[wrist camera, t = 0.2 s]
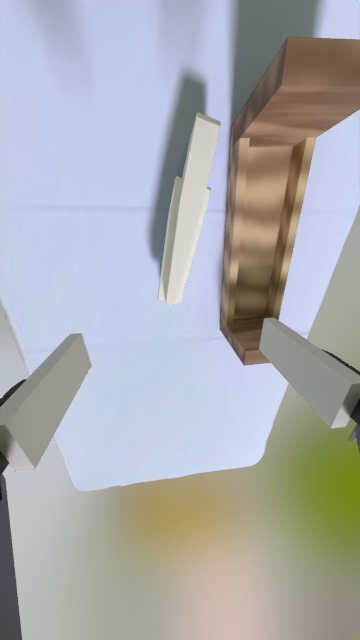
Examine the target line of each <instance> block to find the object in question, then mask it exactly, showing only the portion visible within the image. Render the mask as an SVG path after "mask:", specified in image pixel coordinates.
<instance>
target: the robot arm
mask: <svg viewBox="0 0 360 640" xmlns="http://www.w3.org/2000/svg"><path fill="white" fill-rule="evenodd" d="M259 350H260V351H261V352H262V353H263V355H264V356H265V357H266V358H267V359H268V360H269V361H270V362H271V363H272V364H273V366H274V367H275V368H276V369H277V370H278V371H279V372H280V373H281V374H282V375H283V377H284V378H285V379H286V380H287V381H288V382H289V383H290V384H291V385H292V387H293V388H294V389H295V390H296V391H297V392H298V393H299V394H300V395H301V396H302V398H303V399H304V400H305V401H306V402H307V403H308V404H309V405H310V406H311V407H312V408H313V410H314V411H315V412H316V413H317V414H318V415H319V416H320V417H321V418H322V420H323V421H324V422H325V423H326V424H327V425H328V426H329V427H330V428H338V427H345V426H346V425H347V423H348V421H349V419H350V417H351V418H352V419H353V420H354V421H355V422H356V423H357V425H356V426H355V428H354V430H353V432H352V433H351V435H350V438H349V441H351V442H352V441H353V440H354V438H355V437H357V444H358V447H359V452H360V372H359V371H358V370H356V369H355V368H353V367H352V366H349V364H347V363H346V362H344V361H342V360H341V359H340V358H338V357H337V356H335V355H334V354H332V353H329V352H327V351H325V350H322V349H320V348H318V347H317V346H315V345H314V344H312V343H311V342H309V341H308V340H306V339H305V338H304V337H302V336H301V335H299V334H298V333H296V332H295V331H293V330H292V329H290V328H289V327H287V326H286V325H284V324H283V323H281V322H280V321H278V320H277V319H275V318H264V322H263V328H262V334H261V340H260V345H259ZM90 367H91V362H90V359H89V356H88V353H87V349H86V346H85V343H84V340H83V337H82V333H79V334H70V335H69V336H68V337H67V338H66V339H65V340H64V341H63V342H62V343H61V344H60V345H59V346H58V347H57V348H56V349H55V350H54V351H53V353H52V354H51V355H50V356H49V357H48V358H47V359H46V360H45V361H44V362H43V363H42V364H41V365H40V366H39V367H38V368H37V369H36V370H35V371H34V372H33V373H32V375H31V376H30V377H29V378H28V379H25V380H22V381H21V382H19V383H18V384H16V385H15V386H13V387H12V388H11V389H10V390H9V391H8V392H7V393H6V394H5V395H4V396H3V398H1V399H0V640H22V635H21V627H20V626H21V625H20V616H19V606H18V597H17V587H16V578H15V568H14V559H13V549H12V539H11V531H10V520H9V510H8V501H7V491H6V481H5V478H4V476H3V474H2V473H3V471H4V470H5V468H6V467H7V465H8V464H10V466H11V467H12V468H13V470H14V471H15V472H17V471H24V470H32V469H35V468H36V466H37V465H38V463H39V461H40V459H41V457H42V455H43V454H44V452H45V450H46V448H47V446H48V444H49V442H50V441H51V439H52V437H53V435H54V433H55V431H56V430H57V428H58V426H59V424H60V422H61V420H62V419H63V417H64V415H65V413H66V411H67V409H68V408H69V406H70V404H71V402H72V400H73V398H74V397H75V395H76V393H77V391H78V389H79V387H80V386H81V384H82V382H83V380H84V378H85V376H86V375H87V373H88V371H89V369H90Z"/></svg>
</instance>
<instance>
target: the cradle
mask: <svg viewBox="0 0 360 640" xmlns="http://www.w3.org/2000/svg"><path fill="white" fill-rule="evenodd" d="M359 109H360V40H355V39H330V38H305V37H288V38H287V39H286V41H285V42H284V44H283V45H282V47H281V49H280V50H279V52H278V53H277V55H276V57H275V58H274V60H273V61H272V63H271V64H270V66H269V68H268V69H267V71H266V72H265V74H264V75H263V77H262V79H261V80H260V82H259V83H258V85H257V87H256V88H255V90H254V91H253V93H252V94H251V96H250V98H249V99H248V101H247V102H246V104H245V106H244V107H243V109H242V110H241V112H240V113H239V115H238V117H237V118H236V120H235V121H234V123H233V125H232V126H231V138H230V156H229V173H228V191H227V209H226V227H225V245H224V263H223V281H222V299H221V317H220V330H221V332H222V333H223V335H224V336H225V338H226V339H227V341H228V342H229V344H230V345H231V347H232V348H233V350H234V351H235V353H236V354H237V356H238V357H239V359H240V360H241V362H242V363H243V365H253V364H263V363H271V362H270V361H269V360H268V359H267V358H266V357H265V356H264V355H263V353H262V352H261V351H260V350H259V345H260V340H261V334H262V328H263V322H264V318H275V319H277V320H278V319H279V315H280V310H281V305H282V300H283V295H284V290H285V286H286V281H287V276H288V271H289V266H290V261H291V257H292V252H293V247H294V242H295V237H296V232H297V228H298V223H299V218H300V213H301V208H302V203H303V199H304V194H305V189H306V184H307V179H308V175H309V170H310V165H311V160H312V155H313V150H314V146H315V141H316V137H318V136H319V135H321V134H322V133H324V132H325V131H327V130H329V129H330V128H332V127H333V126H335V125H336V124H338V123H339V122H341V121H342V120H344V119H345V118H347V117H348V116H350V115H352V114H353V113H355V112H356V111H358V110H359Z"/></svg>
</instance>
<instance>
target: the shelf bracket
mask: <svg viewBox="0 0 360 640" xmlns="http://www.w3.org/2000/svg"><path fill="white" fill-rule="evenodd" d="M220 123H221V122H220V121H218V120H215V119H213V118H211V117H208V116H206V115H203V114H201V113H199V112H197V115H196V118H195V122H194V126H193V130H192V133H191V137H190V141H189V145H188V149H187V155H186V161H185V165H184V170H183V175H182V178H180V177H178V176H176V178H175V183H174V188H173V193H172V198H171V203H170V208H169V213H168V221H167V229H166V236H165V244H164V252H163V259H162V267H161V275H160V282H159V290H158V300H160V301H165V302H166V304H171V305H175V304H180V303H181V299H182V295H183V292H184V288H185V285H186V281H187V278H188V274H189V270H190V267H191V263H192V260H193V256H194V253H195V249H196V245H197V242H198V238H199V235H200V231H201V228H202V224H203V220H204V217H205V213H206V209H207V204H208V200H209V195H210V191H211V190H210V187H207V185H208V180H209V176H210V171H211V167H212V162H213V158H214V153H215V148H216V144H217V139H218V135H219V130H220Z"/></svg>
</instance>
